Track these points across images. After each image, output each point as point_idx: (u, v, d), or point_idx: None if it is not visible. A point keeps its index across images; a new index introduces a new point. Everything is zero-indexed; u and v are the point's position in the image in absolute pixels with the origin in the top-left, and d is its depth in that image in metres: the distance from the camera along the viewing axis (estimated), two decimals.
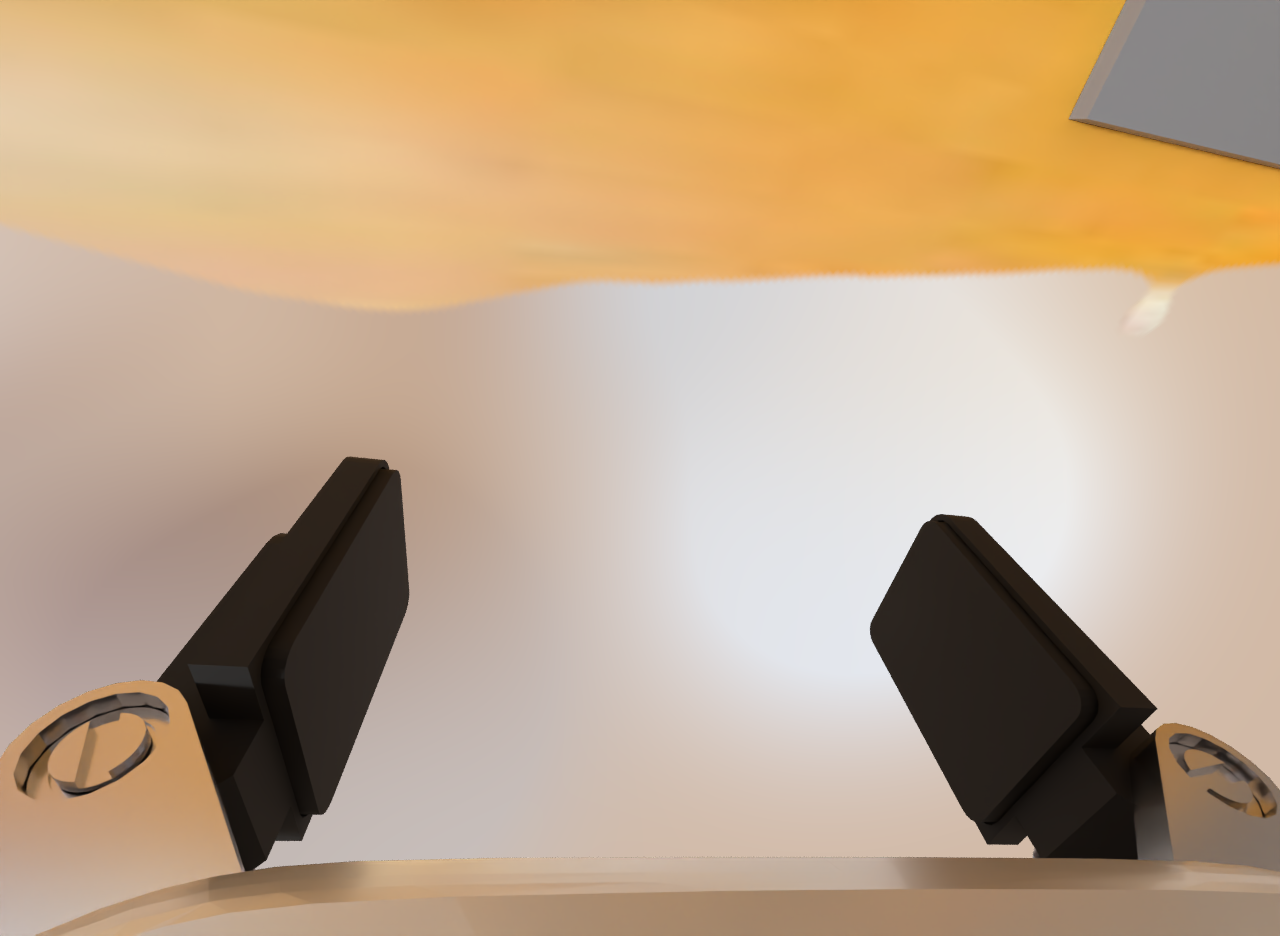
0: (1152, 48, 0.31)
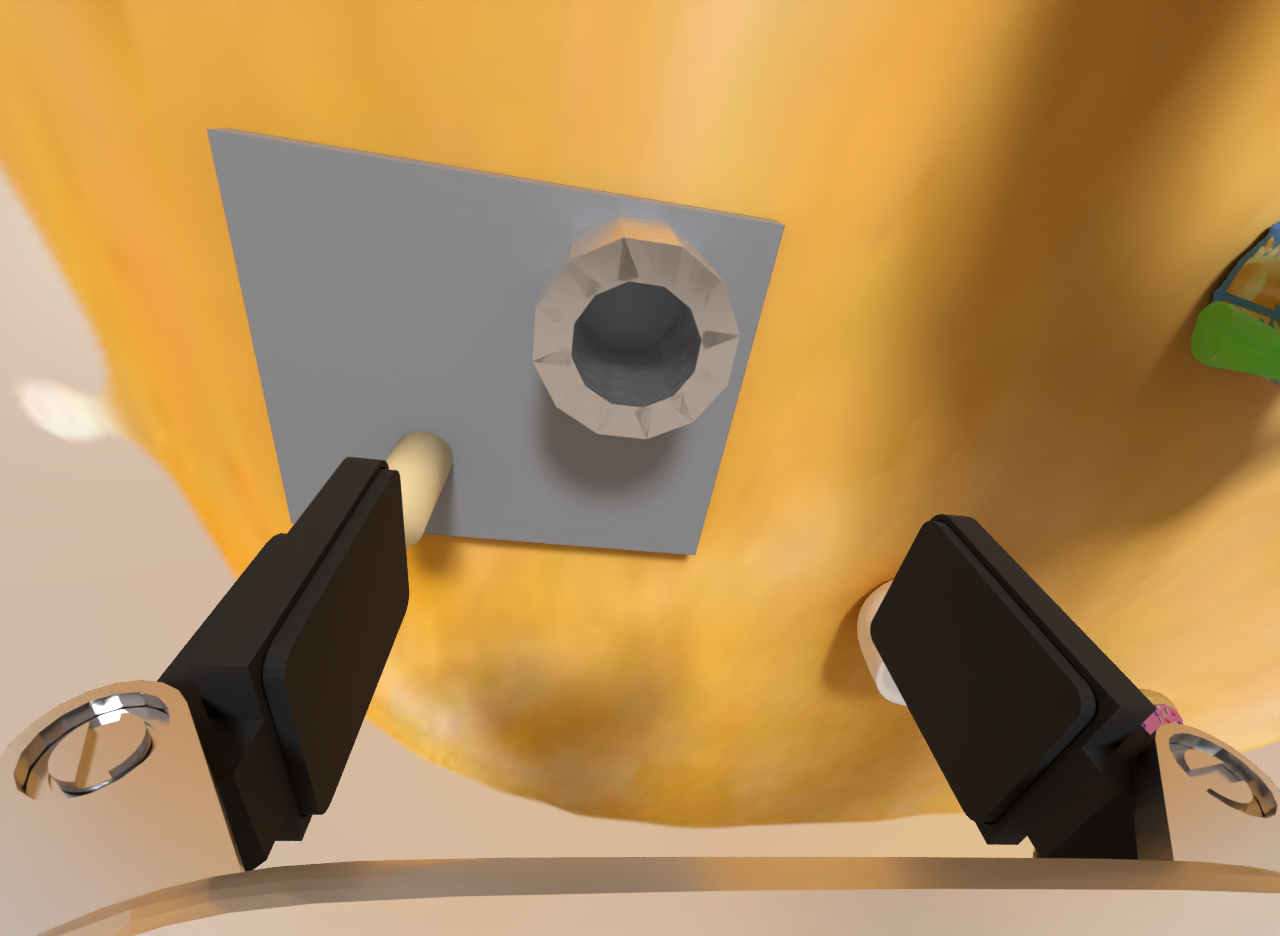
0: (323, 200, 0.21)
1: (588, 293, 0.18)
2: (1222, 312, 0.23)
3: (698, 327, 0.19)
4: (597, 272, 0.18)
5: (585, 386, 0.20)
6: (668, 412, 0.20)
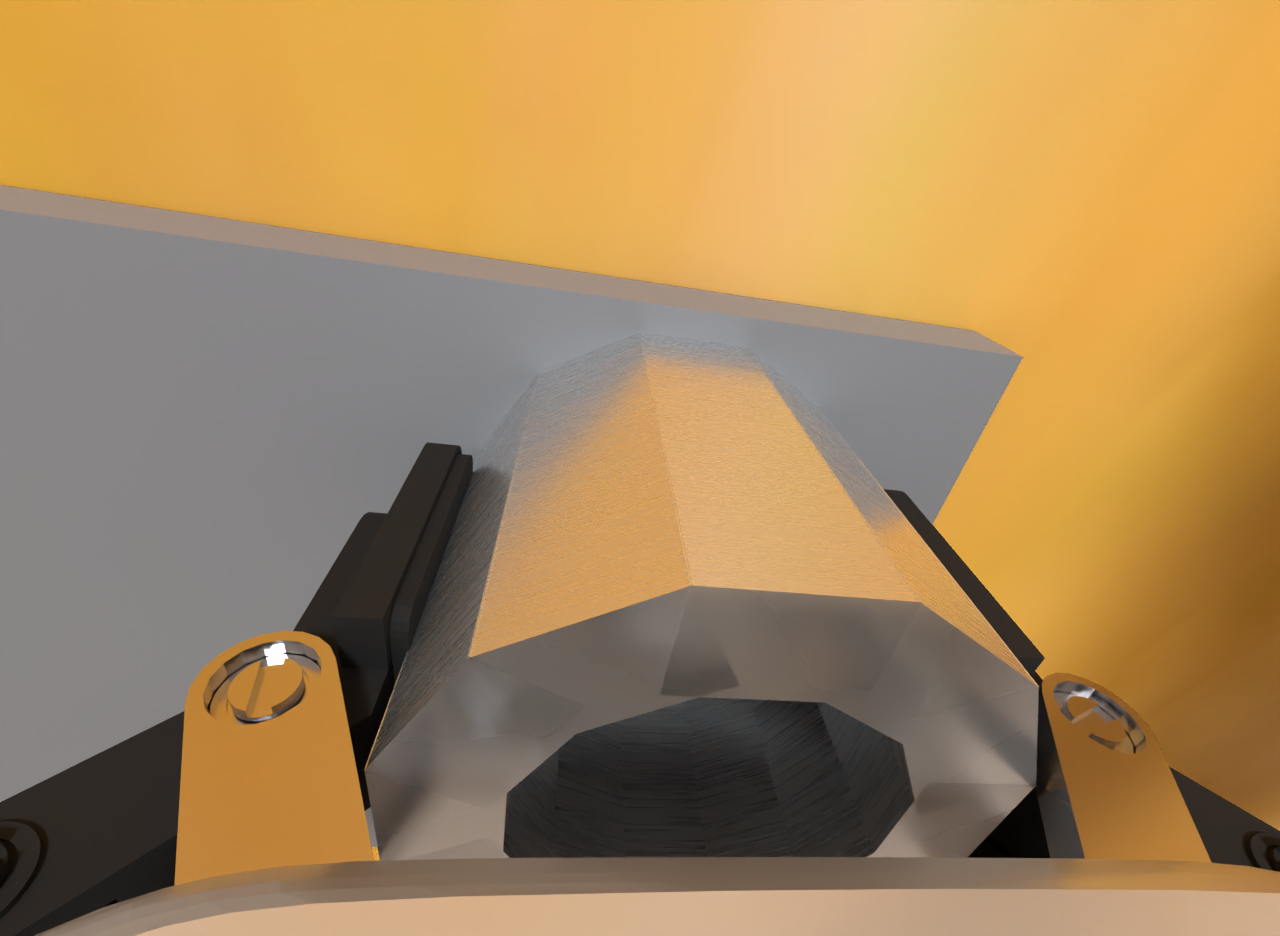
0: None
1: (552, 728, 0.05)
2: None
3: (913, 778, 0.06)
4: (584, 681, 0.05)
5: None
6: None
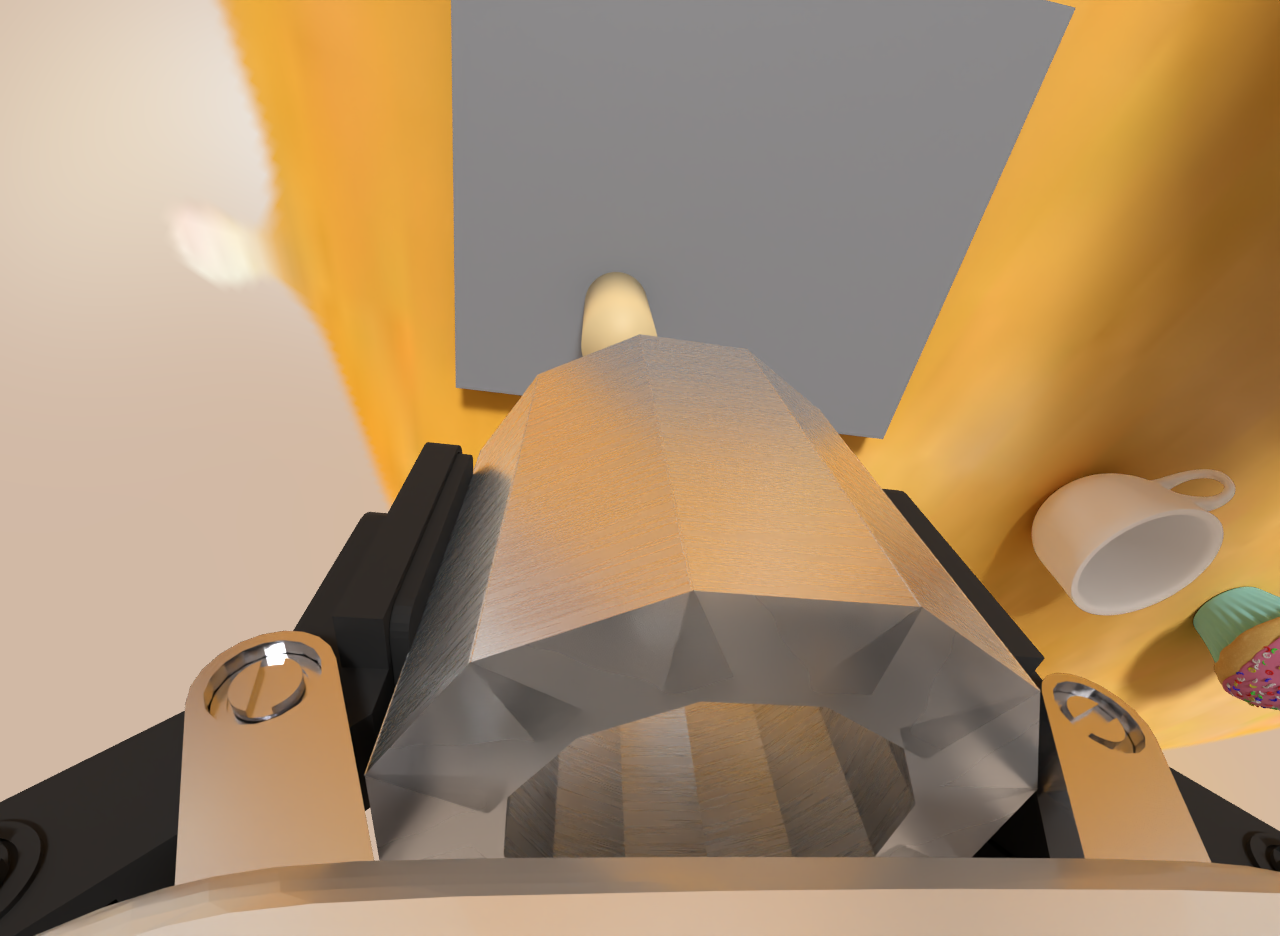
0: None
1: (552, 733, 0.05)
2: None
3: (914, 782, 0.06)
4: (584, 686, 0.05)
5: None
6: None
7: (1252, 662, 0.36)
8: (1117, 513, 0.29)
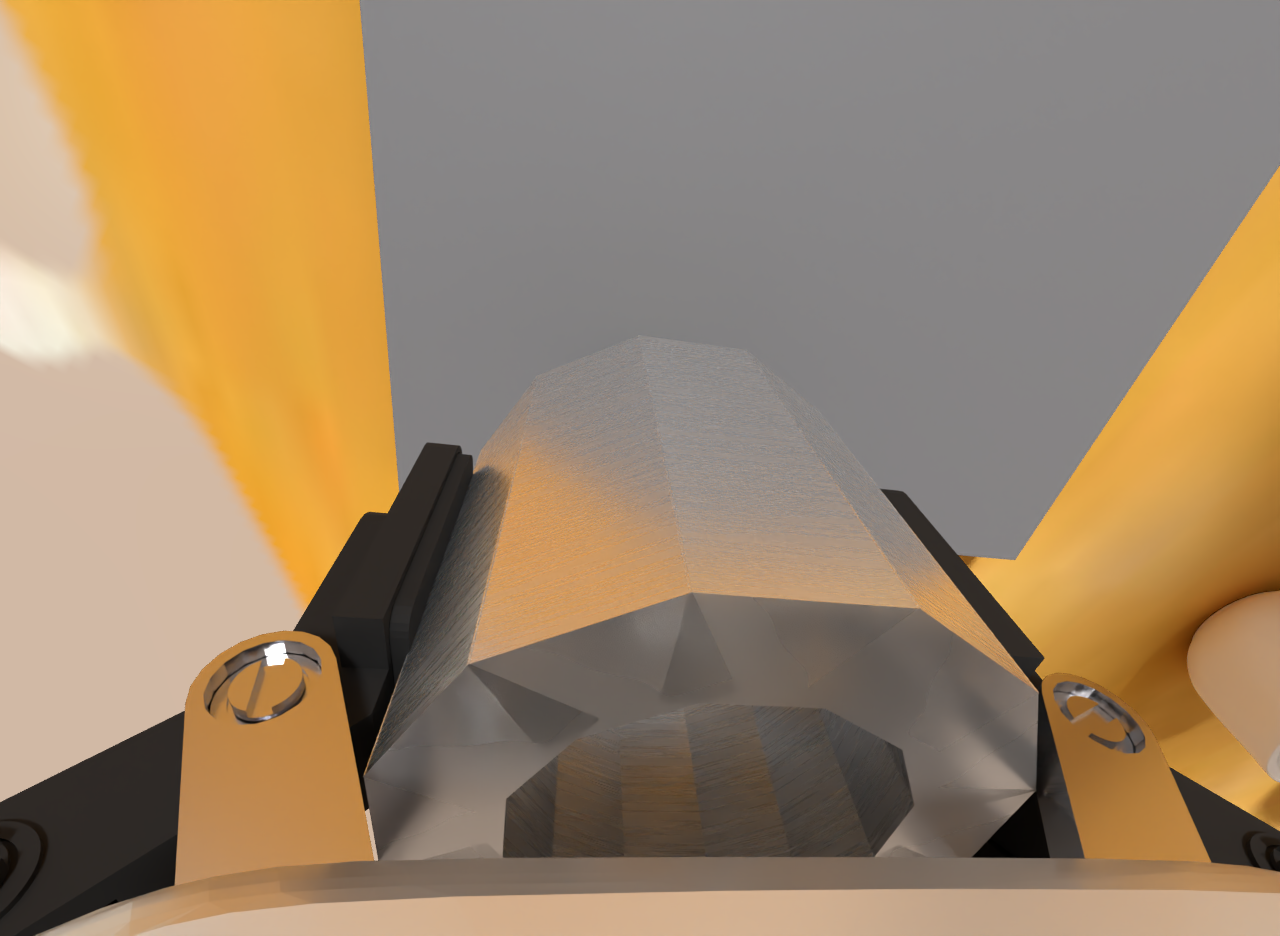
0: None
1: (551, 734, 0.05)
2: None
3: (913, 783, 0.06)
4: (583, 688, 0.05)
5: None
6: None
7: None
8: None
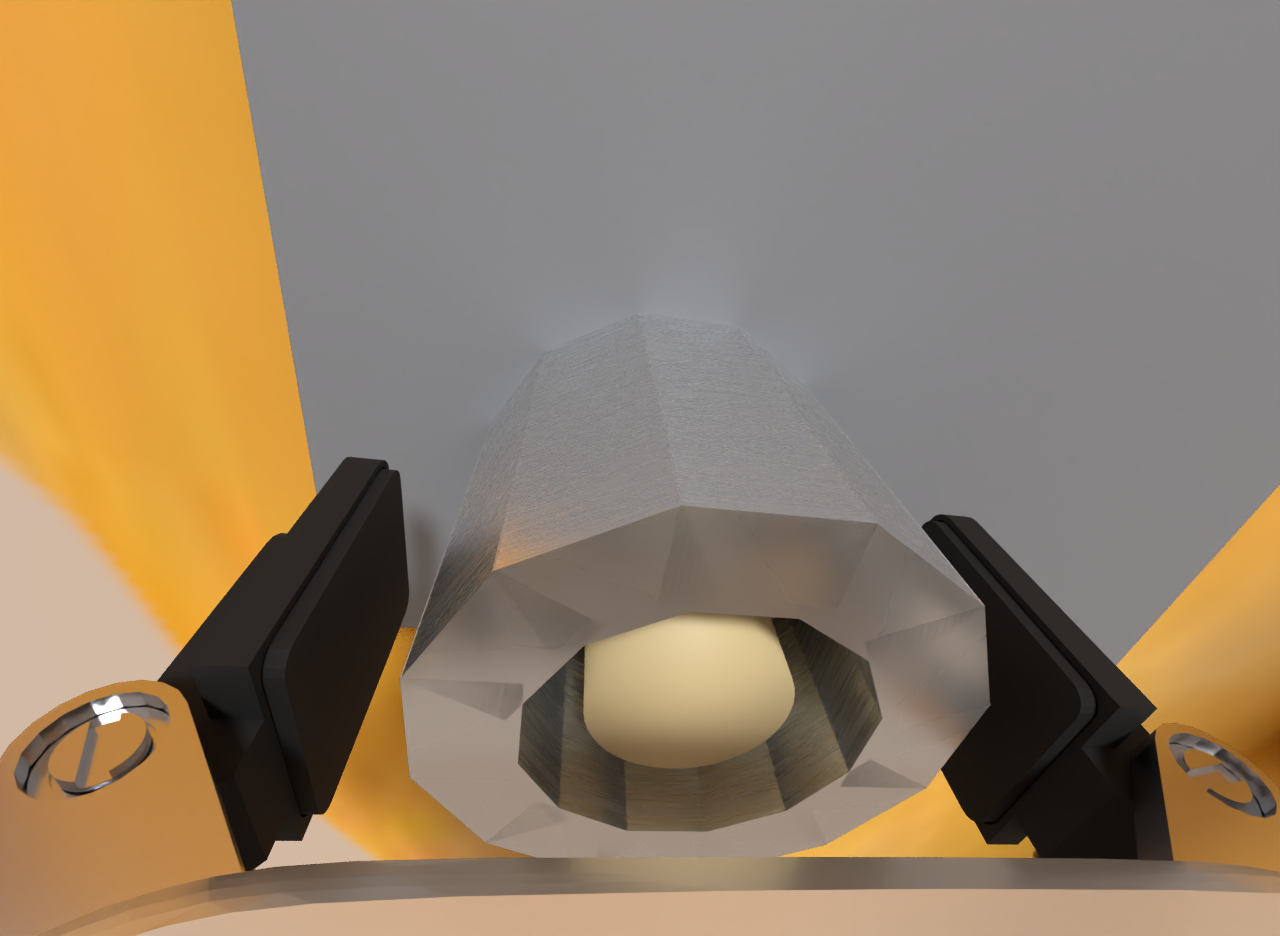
0: None
1: (563, 641, 0.06)
2: None
3: (880, 695, 0.07)
4: (590, 595, 0.05)
5: (560, 807, 0.07)
6: (769, 834, 0.08)
7: None
8: None
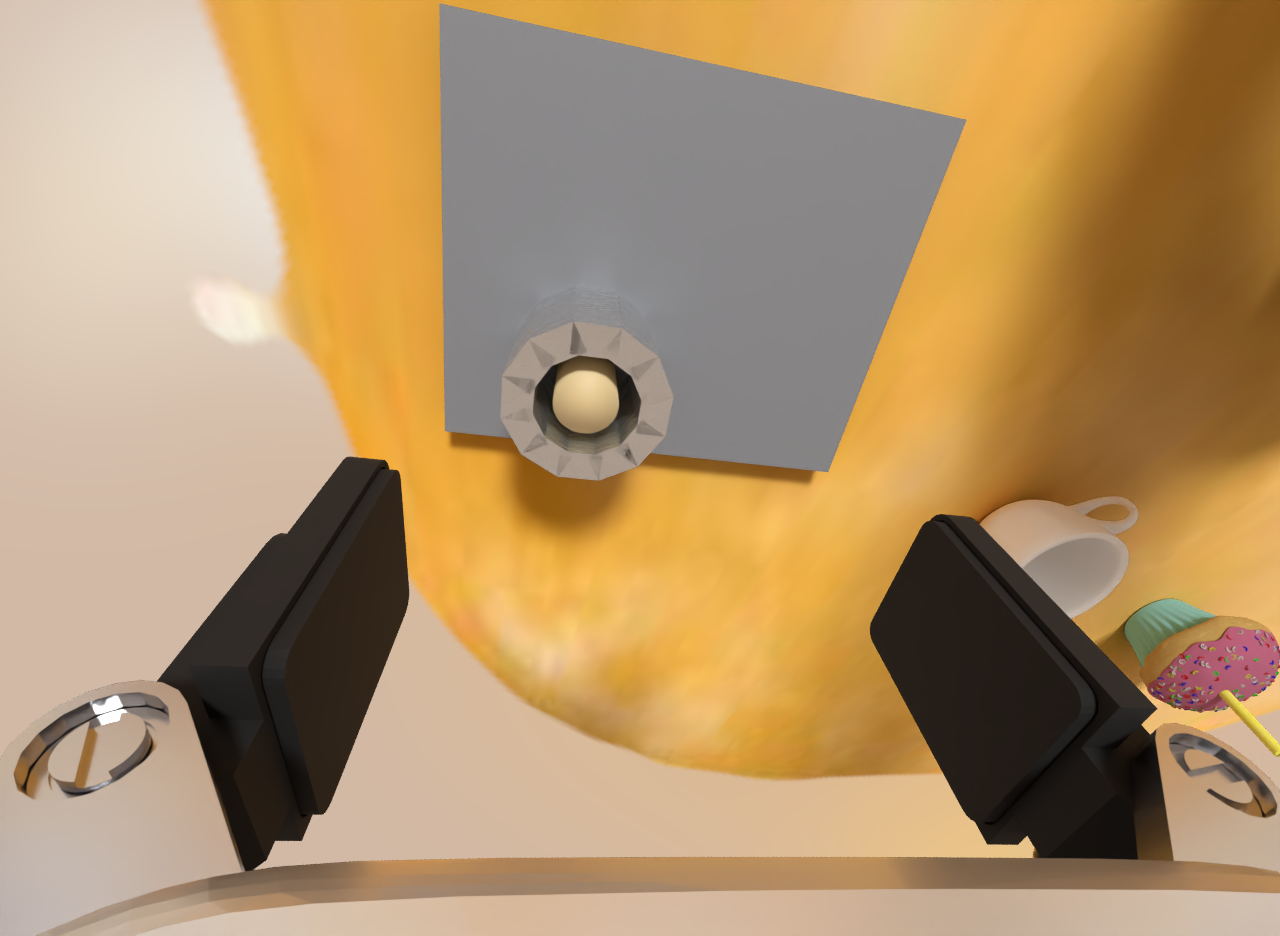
0: (537, 81, 0.22)
1: (545, 364, 0.22)
2: None
3: (638, 390, 0.23)
4: (552, 348, 0.21)
5: (545, 438, 0.23)
6: (616, 458, 0.24)
7: (1170, 668, 0.40)
8: (1035, 537, 0.33)
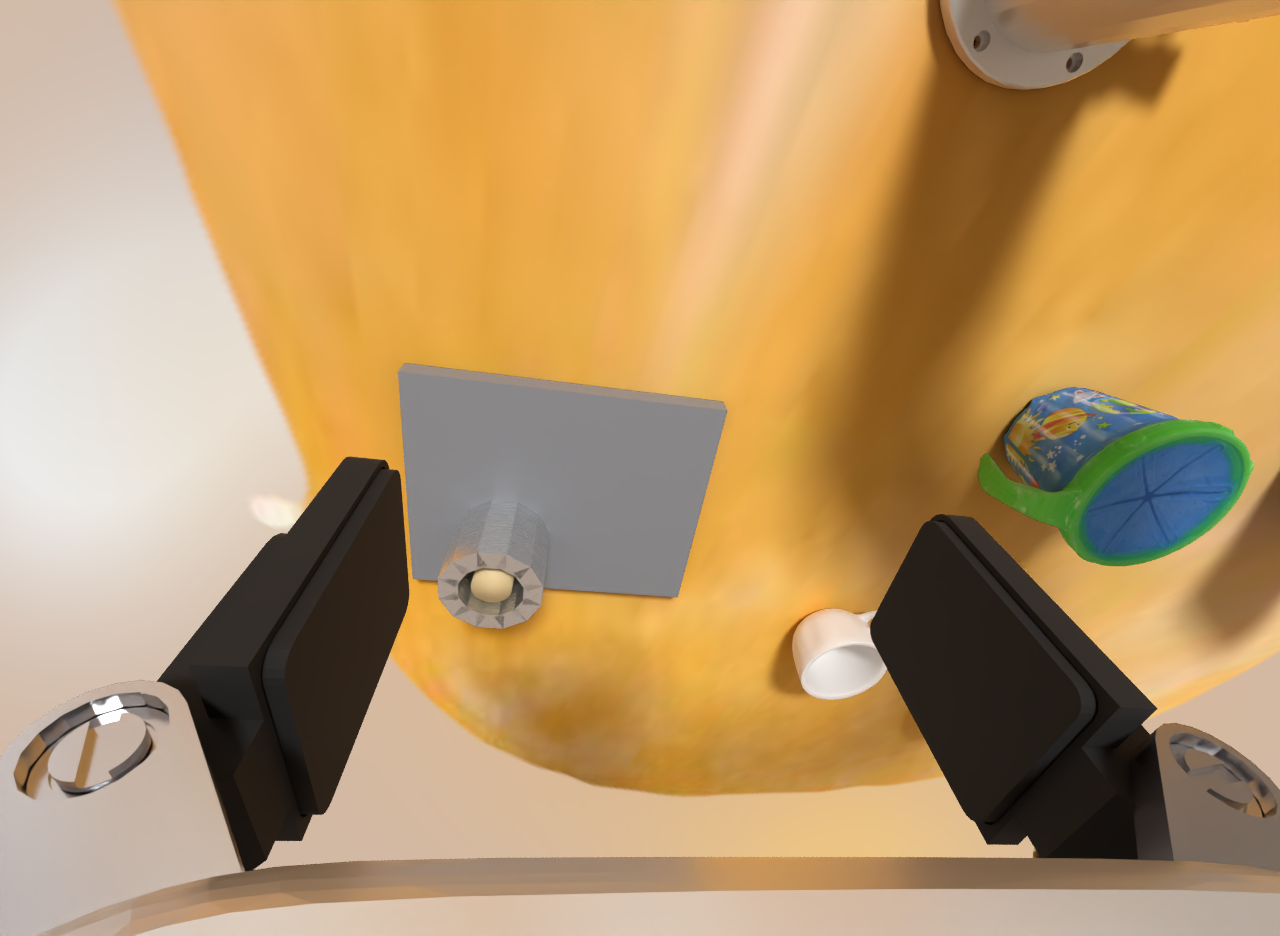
0: (458, 403, 0.37)
1: (463, 572, 0.37)
2: (987, 462, 0.39)
3: (521, 583, 0.38)
4: (466, 565, 0.37)
5: (467, 607, 0.39)
6: (512, 617, 0.39)
7: None
8: (820, 642, 0.48)
